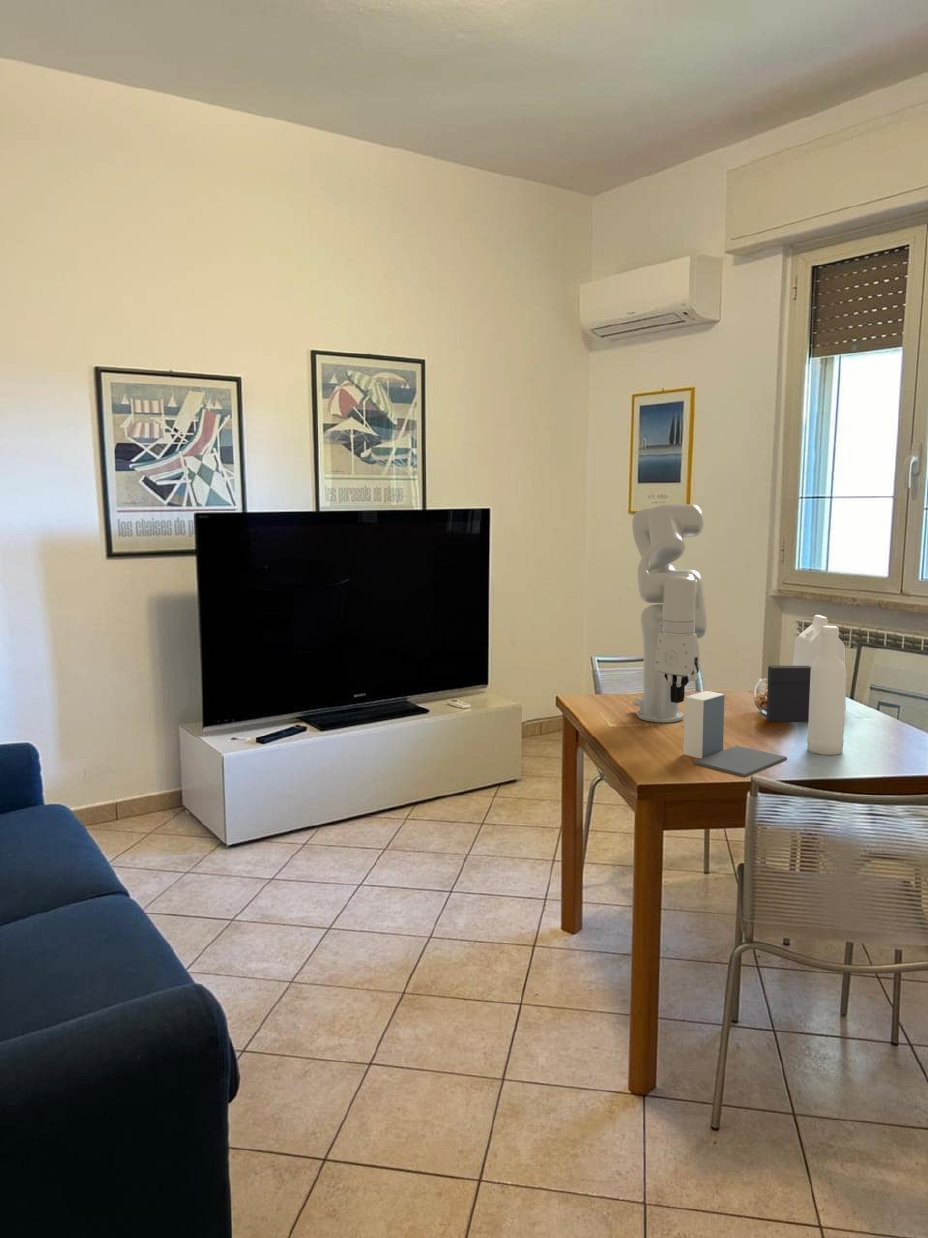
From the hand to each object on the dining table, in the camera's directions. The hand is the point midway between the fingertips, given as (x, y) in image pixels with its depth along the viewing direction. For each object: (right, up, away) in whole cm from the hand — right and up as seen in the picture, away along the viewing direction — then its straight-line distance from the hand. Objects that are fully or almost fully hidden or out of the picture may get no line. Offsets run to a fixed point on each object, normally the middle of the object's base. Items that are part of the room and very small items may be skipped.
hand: (677, 701), depth 208 cm
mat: (+12, -13, -11) cm, 21 cm away
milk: (+51, -5, +42) cm, 66 cm away
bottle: (+34, -12, -4) cm, 36 cm away
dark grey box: (+36, -8, +24) cm, 44 cm away
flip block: (+5, -12, -4) cm, 14 cm away
